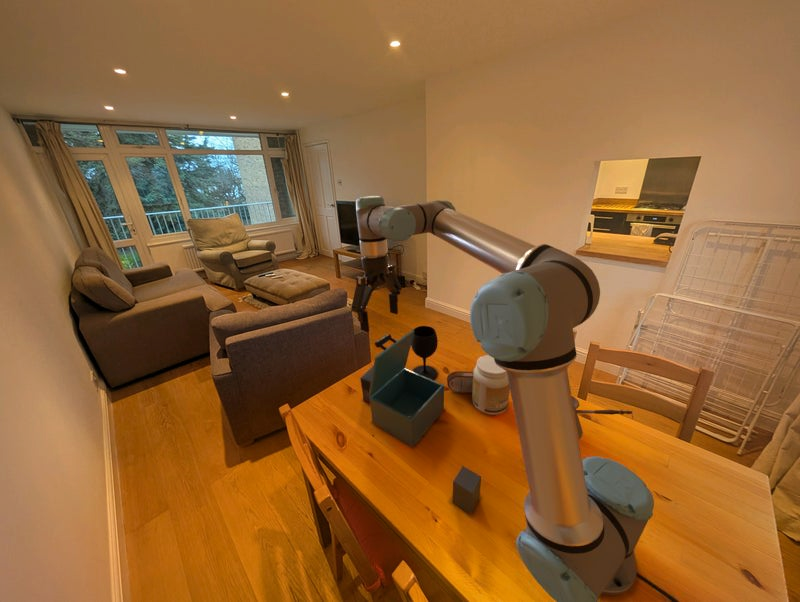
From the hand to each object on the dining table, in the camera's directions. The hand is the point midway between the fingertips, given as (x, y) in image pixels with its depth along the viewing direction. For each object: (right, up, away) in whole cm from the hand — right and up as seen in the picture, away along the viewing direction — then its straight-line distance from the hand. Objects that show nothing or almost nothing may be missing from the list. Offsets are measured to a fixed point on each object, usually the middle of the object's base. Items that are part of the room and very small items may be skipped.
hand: (380, 321), depth 91 cm
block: (+23, -44, -17) cm, 52 cm away
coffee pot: (+60, -35, -3) cm, 69 cm away
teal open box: (+9, -33, +9) cm, 35 cm away
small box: (-2, -29, +19) cm, 35 cm away
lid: (+4, -14, +4) cm, 15 cm away
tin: (+31, -27, +18) cm, 45 cm away
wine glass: (+16, -24, +29) cm, 41 cm away
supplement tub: (+38, -30, +12) cm, 50 cm away
